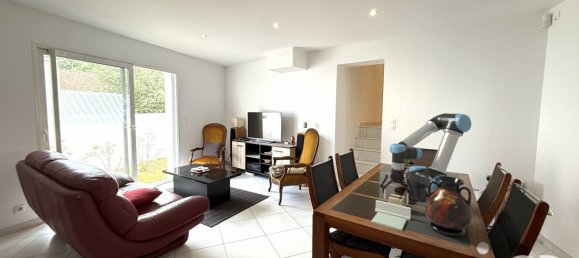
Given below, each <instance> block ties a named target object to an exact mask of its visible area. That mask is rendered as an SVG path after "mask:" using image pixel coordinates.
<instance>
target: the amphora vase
mask: <svg viewBox="0 0 579 258" xmlns="http://www.w3.org/2000/svg"><path fill="white" fill-rule="evenodd" d="M435 180H436V181H438V182H439V184H438V183H437V182H435V181H431V182H430V183H429V187H428V188H427V193H428V197H427V199H426V201H424V208H423V209H424V213H425V216H426V217H427V219H428V220H429V221H428V226H429V227H430V228H431V230H433V231H434V232H436V233H438V234H440V235H444V236H448V237H454V238H457V237H458V238H459V237H462V236H465V234H466V229H467V228H469V226H470V225H471V224H472V222H473V218H474V214H473V213H474V212H473V209H472V207H471V206H472V190H471V189H470V188H469V187H467V186H464V185H465V183H466V182H465V181H464V180H463V179H461V178H458V177H455V176H448V175H447V176H438V177H436V178H435ZM432 184H436V185H437V189H436V190H435V191H433V190H431V185H432ZM464 190H465V191H467V193H468V194H467V195H468V197H467V198H466V196H464V194H463V193H462V191H464Z"/></svg>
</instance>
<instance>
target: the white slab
mask: <svg viewBox="0 0 579 258" xmlns="http://www.w3.org/2000/svg"><path fill="white" fill-rule="evenodd" d="M374 212H375V213H378V212H380V213H384V214H388V215H392V216H396V217H400V218H404V219H406V221H411V219H412V218H411V217H412V207H409V206H408V207H407V206H405V205H404V206H400V205H396V204H391V203H388V201H387V202H385V201H382V200H377V199H376V200H375V209H374Z"/></svg>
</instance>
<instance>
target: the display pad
mask: <svg viewBox="0 0 579 258" xmlns="http://www.w3.org/2000/svg"><path fill="white" fill-rule="evenodd" d="M371 223H372V224H376V225H380V226H383V227H386V228H390V229H393V230H397V231H400V232H403V229H404V226H405V224H406V223H407V220H406V219H404V218H400V217H396V216H392V215H388V214H384V213H380V212H376V214H375V215H374V217H373V218H372V219H371Z"/></svg>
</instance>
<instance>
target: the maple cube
mask: <svg viewBox="0 0 579 258" xmlns="http://www.w3.org/2000/svg"><path fill="white" fill-rule="evenodd" d="M387 203H391V204H396V205H400V206H405V195H404V196H403V195H399V194H393V193H390V195H389V197H388V200H387Z"/></svg>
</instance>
